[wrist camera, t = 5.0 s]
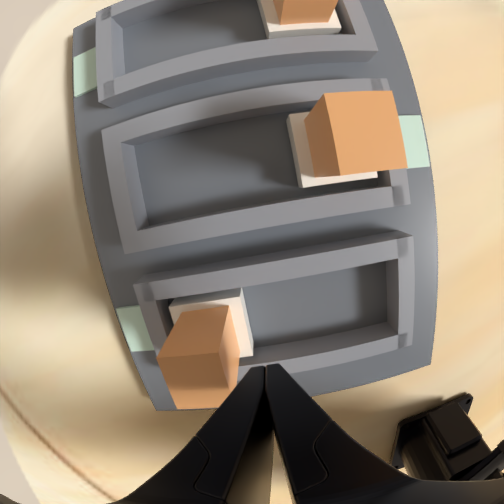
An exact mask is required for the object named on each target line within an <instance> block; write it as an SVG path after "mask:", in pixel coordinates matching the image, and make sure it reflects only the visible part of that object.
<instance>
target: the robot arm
mask: <svg viewBox="0 0 504 504" xmlns="http://www.w3.org/2000/svg"><path fill="white" fill-rule="evenodd" d="M472 400H473V397H472V395H471V394H466V395H464V396H462V397H460V398H457V399H455V400H453V401H451V402H448V403H446V404H444V405H441V406H439V407H437V408H434V409H432V410H429V411H427V412H424V413H421V414H419V415H416V416H413V417H410V418H407V419H405V420H403V421H401V422H400V423H399V424H398V427H397V433H396V437H395V442H394V447H393V451H392V455H391V459H390V463H389V464H388V463H387V462H385V461H384V460H382V459H381V458H379V457H378V456H376V455H375V454H373V453H372V452H370V451H369V450H367V449H366V448H365V447H363V446H362V445H361V444H359V443H358V442H357V441H355V440H354V439H353V438H352V437H350V436H349V435H348V434H347V433H346V432H345V431H344V430H343V429H342V428H341V427H340V426H339V425H338V424H337V423H336V422H335V421H333V420H332V418H331V417H330V416H329V415H328V414H327V413H326V412H325V411H324V410H323V409H322V408H321V407H320V406H319V405H318V404H317V403H316V402H315V401H314V400H313V399H312V398H311V397H310V396H309V395H308V394H307V393H306V391H305V390H304V389H303V388H302V387H301V386H300V385H299V384H298V383H297V382H296V381H295V380H294V379H293V378H292V376H291V375H290V374H289V373H288V372H287V371H286V370H285V369H284V368H283V367H282V366H281V365H280V364H279V363H275V364H269V365H266V366H263V365H262V366H255V367H251V368H250V369H249V370H248V372H247V373H246V374H245V375H244V377H243V378H242V379H241V380H240V382H239V383H238V384H237V385H236V387H235V388H234V389H233V390H232V392H231V393H230V394H229V395H228V397H227V398H226V399H225V400H224V402H223V403H222V404H221V405H220V406H219V408H218V409H217V410H216V411H215V412H214V414H213V415H212V416H211V417H210V418H209V420H208V421H207V422H206V423H205V424H204V425H203V427H202V428H201V429H200V430H199V431H198V432H197V434H196V436H194V437H193V438H192V439H191V440H190V441H189V443H188V444H187V445H186V446H185V447H184V448H183V449H182V450H181V451H180V452H179V453H178V454H177V455H176V456H175V457H174V458H173V459H172V460H171V461H170V462H169V463H168V464H166V465H165V466H164V467H163V468H162V469H161V470H160V471H158V472H157V473H156V474H155V475H154V476H152V477H151V478H150V479H149V480H147V481H146V482H145V483H144V484H142V485H141V486H140V487H139V488H137V489H136V490H135V491H133V492H132V493H131V494H129V495H128V496H126V497H124V498H123V499H121V500H118V501H116V502H112V503H108V504H270V491H271V478H272V463H273V447H274V433H275V437H276V441H277V445H278V449H279V453H280V457H281V461H282V465H283V469H284V472H285V476H286V480H287V484H288V488H289V492H290V495H291V499H292V503H293V504H504V473H502V470H503V469H504V440H502V441H501V442H500V443H499V444H498V445H497V446H498V447H497V448H495V449H494V450H493V451H491V450H490V448H489V447H488V445H487V444H486V443H485V441H484V440H483V438H482V434H481V433H480V431H479V430H478V429H477V427H476V426H475V425H474V423H473V422H472V421H471V419H470V418H469V417H468V412H469V409H470V406H471V403H472ZM403 467H405V469H406V471H407V474H408V475H406V474H404V473H403V472H401V471H399V470H398V469H400V468H403ZM0 504H19V503H17V502H15V501H12V500H11V499H9V498H8V497H6V496H4V495H2V494H0Z"/></svg>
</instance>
